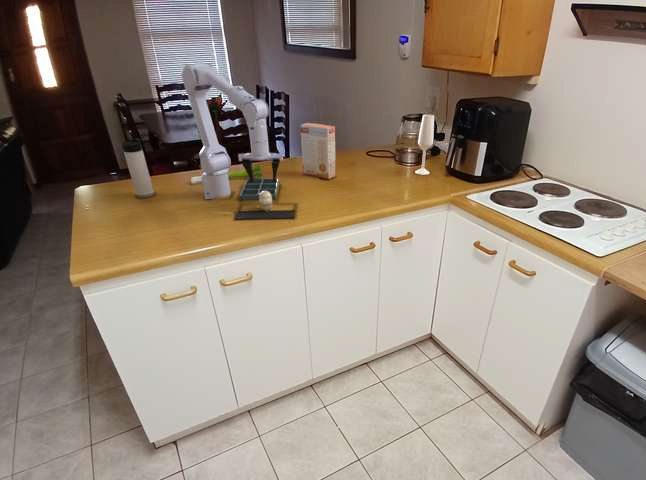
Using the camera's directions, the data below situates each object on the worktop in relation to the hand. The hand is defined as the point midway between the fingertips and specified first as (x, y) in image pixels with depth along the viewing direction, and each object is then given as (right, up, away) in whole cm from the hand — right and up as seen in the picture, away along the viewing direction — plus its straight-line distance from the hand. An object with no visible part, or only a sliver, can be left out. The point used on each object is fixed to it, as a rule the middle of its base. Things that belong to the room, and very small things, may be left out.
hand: (263, 181), depth 141 cm
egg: (+1, -9, +3) cm, 10 cm away
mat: (+1, -10, +3) cm, 10 cm away
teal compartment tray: (-5, +1, +18) cm, 19 cm away
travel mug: (-49, -1, +15) cm, 51 cm away
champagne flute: (+63, +17, +44) cm, 79 cm away
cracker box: (+16, +14, +38) cm, 44 cm away
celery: (-21, +9, +30) cm, 38 cm away
